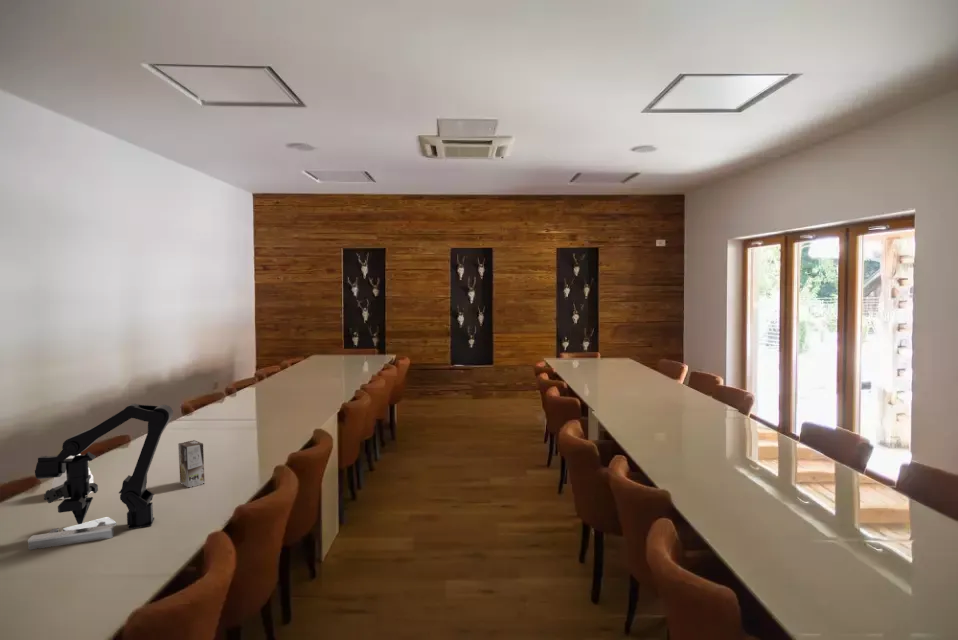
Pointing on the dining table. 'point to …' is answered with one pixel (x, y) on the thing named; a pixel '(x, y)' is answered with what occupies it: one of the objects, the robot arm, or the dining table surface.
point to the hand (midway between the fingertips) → (80, 523)
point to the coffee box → (191, 463)
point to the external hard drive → (91, 524)
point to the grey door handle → (71, 536)
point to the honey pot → (63, 478)
